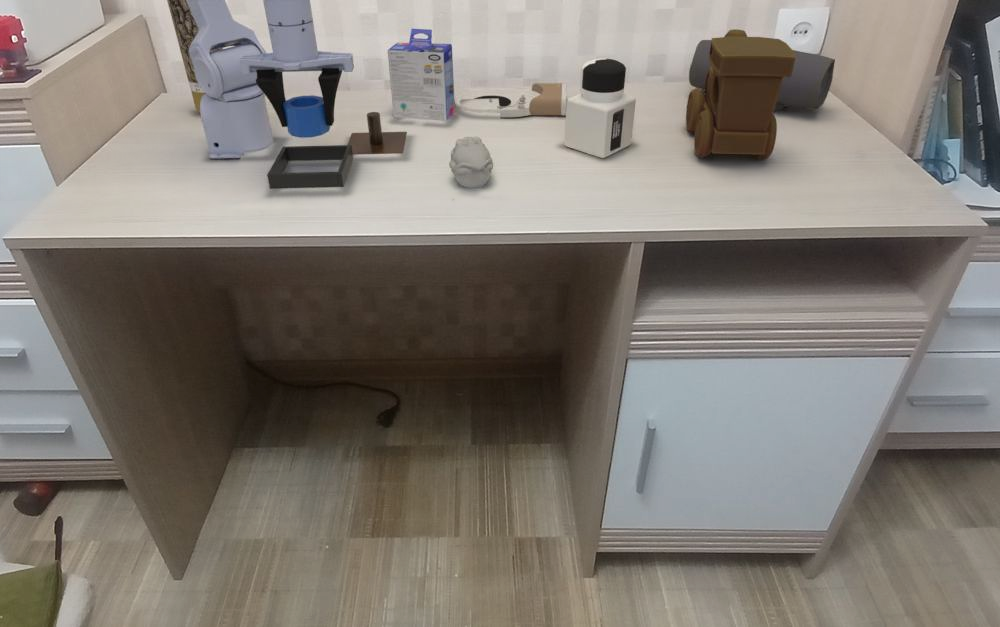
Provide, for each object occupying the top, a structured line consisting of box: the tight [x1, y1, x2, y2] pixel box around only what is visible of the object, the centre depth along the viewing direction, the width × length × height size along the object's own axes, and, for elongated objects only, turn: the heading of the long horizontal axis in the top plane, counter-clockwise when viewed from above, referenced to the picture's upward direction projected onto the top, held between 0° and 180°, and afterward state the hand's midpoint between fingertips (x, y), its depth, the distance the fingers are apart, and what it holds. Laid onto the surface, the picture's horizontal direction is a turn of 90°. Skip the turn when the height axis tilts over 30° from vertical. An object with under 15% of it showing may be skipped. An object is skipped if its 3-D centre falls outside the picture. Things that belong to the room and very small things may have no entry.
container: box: [564, 58, 637, 159], centre depth 108 cm, size 8×8×13 cm
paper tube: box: [166, 0, 224, 114], centre depth 120 cm, size 7×7×25 cm
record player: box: [454, 82, 567, 118], centre depth 126 cm, size 12×3×20 cm
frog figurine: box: [448, 136, 494, 189], centre depth 98 cm, size 6×7×7 cm
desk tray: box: [266, 144, 354, 190], centre depth 102 cm, size 10×10×3 cm
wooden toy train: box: [685, 29, 796, 160], centre depth 106 cm, size 20×11×17 cm, turn 175°
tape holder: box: [347, 111, 408, 156], centre depth 110 cm, size 9×9×6 cm
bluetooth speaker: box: [688, 39, 836, 111], centre depth 124 cm, size 23×9×10 cm, turn 55°
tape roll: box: [283, 94, 331, 139], centre depth 97 cm, size 6×6×4 cm
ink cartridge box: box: [387, 28, 456, 121], centre depth 118 cm, size 10×6×14 cm, turn 78°
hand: (308, 123), depth 98 cm, fingers closed on tape roll, 5 cm apart
